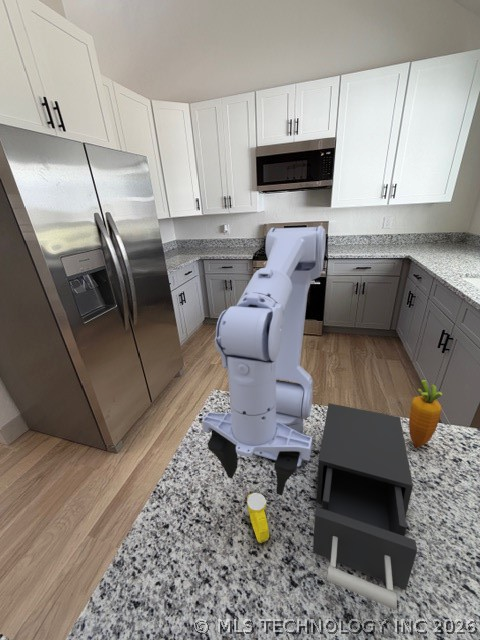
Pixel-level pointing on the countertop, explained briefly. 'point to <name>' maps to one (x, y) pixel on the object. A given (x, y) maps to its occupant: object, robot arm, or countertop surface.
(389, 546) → the dark gray drawer
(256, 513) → the watch
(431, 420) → the carrot
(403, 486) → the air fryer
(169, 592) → the countertop surface
